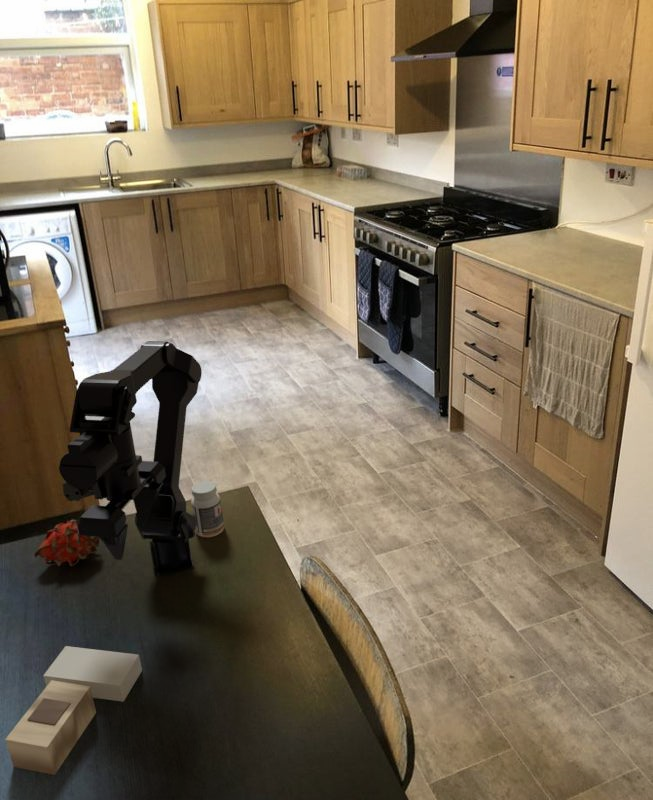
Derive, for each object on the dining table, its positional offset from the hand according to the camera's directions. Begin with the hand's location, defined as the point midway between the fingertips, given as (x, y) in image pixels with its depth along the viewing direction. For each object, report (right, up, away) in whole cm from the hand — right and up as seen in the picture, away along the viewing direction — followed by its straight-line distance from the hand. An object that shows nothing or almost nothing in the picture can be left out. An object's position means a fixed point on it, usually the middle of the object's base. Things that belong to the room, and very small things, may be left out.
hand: (132, 542), depth 112 cm
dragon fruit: (-16, -7, +19) cm, 26 cm away
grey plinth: (-3, -18, -10) cm, 21 cm away
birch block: (-4, -18, -15) cm, 24 cm away
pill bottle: (+8, -3, +26) cm, 27 cm away
